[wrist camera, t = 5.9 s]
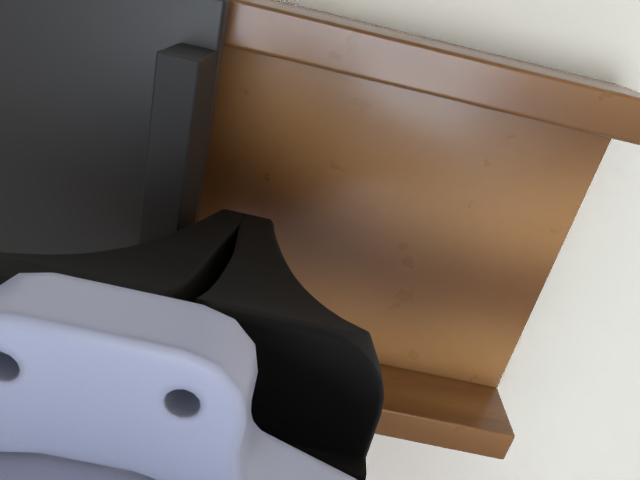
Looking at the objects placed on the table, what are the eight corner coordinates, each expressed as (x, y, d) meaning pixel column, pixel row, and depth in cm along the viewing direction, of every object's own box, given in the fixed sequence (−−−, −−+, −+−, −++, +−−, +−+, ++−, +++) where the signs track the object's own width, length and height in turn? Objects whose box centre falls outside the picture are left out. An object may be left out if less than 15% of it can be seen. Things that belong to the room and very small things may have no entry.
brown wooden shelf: (482, 394, 20) (503, 460, 17) (-153, 261, 18) (-239, 309, 16) (620, 85, 15) (680, 108, 12) (-213, -121, 14) (-349, -146, 11)
